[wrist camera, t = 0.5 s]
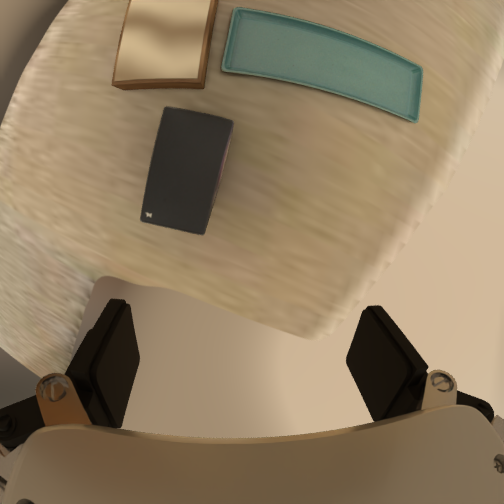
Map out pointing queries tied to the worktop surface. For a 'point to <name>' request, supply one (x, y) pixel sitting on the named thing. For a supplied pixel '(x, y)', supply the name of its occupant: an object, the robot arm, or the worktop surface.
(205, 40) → the brown rectangular tray
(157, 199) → the small box
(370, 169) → the worktop surface
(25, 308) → the worktop surface
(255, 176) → the worktop surface
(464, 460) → the robot arm
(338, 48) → the shallow long dish
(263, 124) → the worktop surface
